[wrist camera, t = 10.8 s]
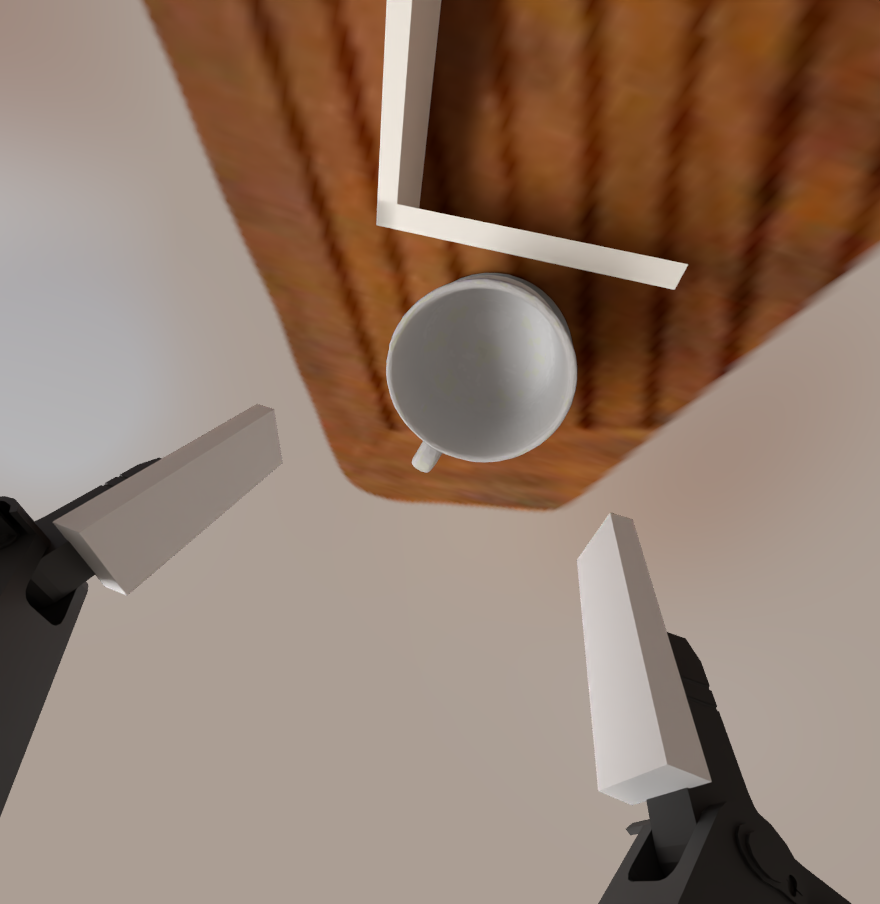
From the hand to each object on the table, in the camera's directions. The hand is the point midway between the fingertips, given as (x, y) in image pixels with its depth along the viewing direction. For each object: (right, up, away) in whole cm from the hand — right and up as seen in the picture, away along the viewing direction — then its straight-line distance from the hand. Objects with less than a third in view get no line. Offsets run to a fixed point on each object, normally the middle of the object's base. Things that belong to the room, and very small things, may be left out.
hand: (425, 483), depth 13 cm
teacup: (+4, +8, +13) cm, 16 cm away
